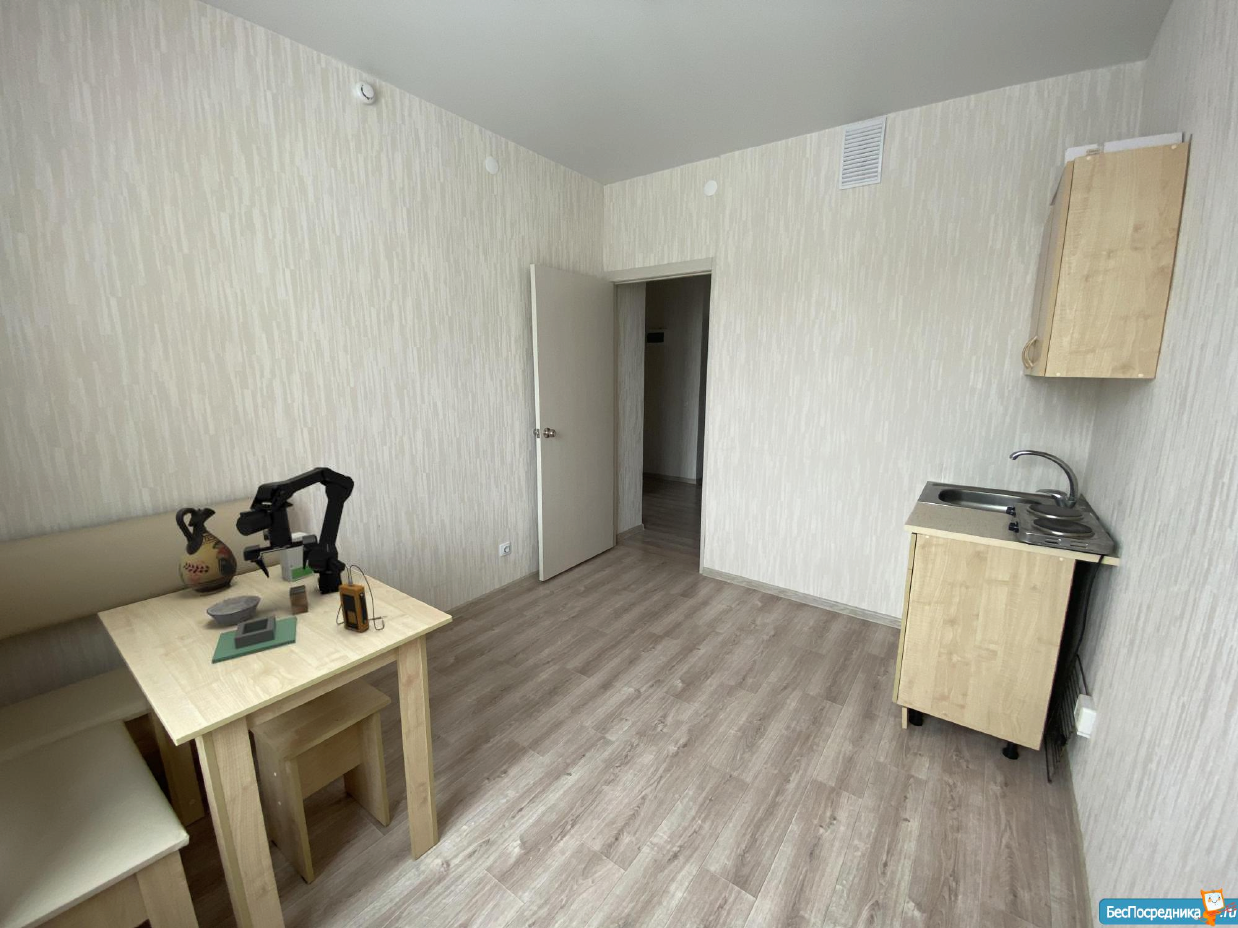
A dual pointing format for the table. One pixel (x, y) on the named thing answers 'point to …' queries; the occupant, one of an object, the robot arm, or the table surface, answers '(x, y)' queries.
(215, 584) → the ceramic jug
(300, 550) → the skincare box
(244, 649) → the board
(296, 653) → the table surface
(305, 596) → the plug
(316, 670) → the table surface
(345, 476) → the robot arm
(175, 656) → the table surface
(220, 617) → the bowl
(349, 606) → the multimeter
